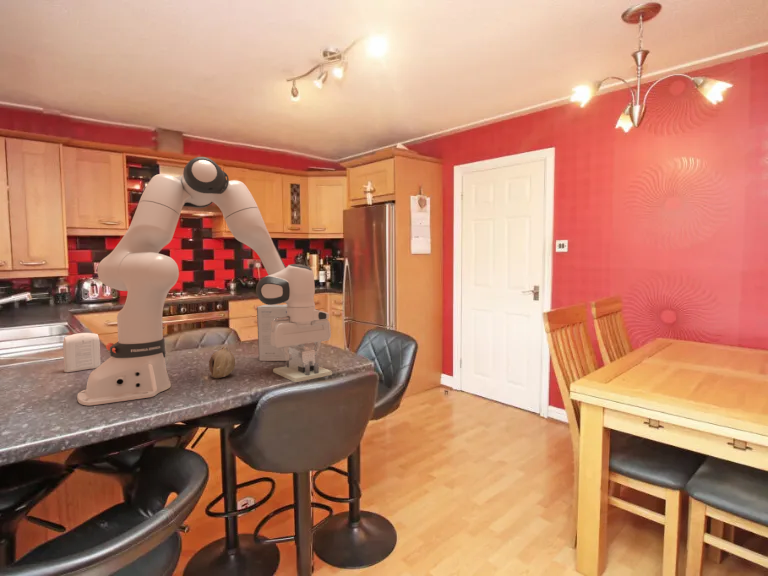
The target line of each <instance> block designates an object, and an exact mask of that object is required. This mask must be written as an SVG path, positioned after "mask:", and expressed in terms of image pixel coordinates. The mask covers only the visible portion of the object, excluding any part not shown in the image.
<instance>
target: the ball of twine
mask: <svg viewBox="0 0 768 576" xmlns="http://www.w3.org/2000/svg"><path fill="white" fill-rule="evenodd" d="M235 367H236V358H235V356H234V354H233V353H232V351H231V350H230V348H229V347H228V346H223V347H222V348H221V349H220V350H216V351H214V353H213V354H211V356H210V359H209V361H208V368H209V369H208V370H209V372H210V377H211V378H214V379H221V378H225V377H228V376H230V374H231V373H232V372H233V371H234V369H235Z"/></svg>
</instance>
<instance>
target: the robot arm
mask: <svg viewBox="0 0 768 576" xmlns="http://www.w3.org/2000/svg"><path fill="white" fill-rule="evenodd" d="M182 172H183V173H182V174H181V175H179V176H173V175H171V174H168V173H159V174H156V175H153V176H152V178H151V179H150V180H149V181H148V183H147V185H146V187H145V189H144V191H143V192H142V195H141V196H140V199H139V201H138V204H137V206H136V209H135V213H134V214H133V217H132V220H131V222H130V225H129V227H128V229H127V230H126V232H125V233H124V235H123V236H122V238H121V239H120V241H119V242H118V243H117V245H116V246H115V248H114V249H113V250H112V251H111V252H110V253H109V254H107V256H105V257H103V259H102V260H100V262H99V263H98V266H97V271H96V272H97V277H98V279H99V281H100V282H101V283H102V284H103V285H105V287H108V288H110V289H113V290H116V291H122V292H127V295H126V300H125V302H124V305H123V307H122V308H121V309H120V310H119V311H118V313H117V315H116V320H117V342H115V343H112V342H108V343H107V344H106V345H105V348H106V350H107V351H109V355H110V357H109V358H107V359H106V360H105V361H104V362H102V363H101V365H100V366H99V367H97V368H94V369H93V370H92V371H91V372H90V373H89V375H88V378H87V382H86V389H83V390H81V391H79V392H78V393H77V395H76V396H77V398H76V399H77V402H78V403H79V404H80V405H82V406H83V405H84V406H97V405H103V404H111V403H118V402H124V401H133V400H139V399H145V398H153V397H155V396H156V395H158V394H159V393H161V392H163V391H167V390H168V389H169V388H171V386H172V383H171V381H170V378H169V375H168V372H167V366H166V359H165V358H166V350H167V349H166V341H165V338H164V336H163V334H164V333H163V332H164V330H163V313H164V306H165V302H166V299H167V296H168V294H169V292H170V290H171V289H172V288H173V287H175V285H176V284H177V282H178V279H179V277H180V270H179V266H178V263H177V262H176V261H175V259H173V258H172V257H171V256H168V255H165V254H162V253H160V252H161V251H162V249H164V248H165V247H167V246H168V245H169V244H170V243H171V241H173V240H172V239H173V237H174V234H175V231H176V229H177V226H178V223H179V219H180V216H181V212H182V210H183V207H191V208H194V209H203V208H207V207H209V206H210V205H212V204H213V203H214V205H216V206H217V207H218V208H219V210H220V211H221V213H222V216H223V218H224V221H225V223H226V225H227V228H228V230H229V231H230V233H231V234H232V236H233V238H234V239H235V240H237V241H238V242H240V243H242V244H243V245H246V246H247V247H249V248H250V249H252V250H253V251H254V252H255V253H256V254H257V256H258V257H259V259H260V261H261V263H262V265H263V267H264V269H265V271H266V273H267V274H268V275H266V276H264V277H262V278H260V279H259V280H258V282H257V284H256V287H255V292H256V296H257V298H258V300H259V301H260V302H262V304H263V305H282V304H285V305H287V317H281V318H279V317H277V318H275V319H274V320H273V321H272V322H271V339H270V343H271V345H272V346H273V347H275V348H281V347H282V351H283V352H284V354H285V359H286V360H287V361H288V360H292V354H289V353H288V351H287V350H289V346H295V345H301V344H304V345H306V344H307V345H308V344H312V343H313V344H314V345H315V346H314V348H313V349H314V350H315V357H316V356H318V355H319V350H320V348H321V346H322V342H327V341H329V340H330V339H331V337H332V328H331V322H330V321H329V320H328V319H329V318H330V313H329V312H326V311H323V310H320V309H316V303H315V293H316V288H315V276H314V271H313V269H312V268H311V267H310V266H308V265H303V264H298V263H297V264H296V263H292V264H288V265H287V266H286V265H285V262H284V261H283V259H282V257H281V255H280V252H279V250H278V249H277V247H276V244H275V243H274V241H273V239H272V237H271V235H270V232H269V230H268V228H267V225H266V222H265V221H264V218H263V215H262V213H261V211H260V208H259V206H258V203H257V202H256V200H255V198H254V196H253V194H252V192H250V190H249V188H248V187H247V185H246V184H245V183H244V182H243V181H240V180H237V179H232V180H230V179H229V175H228V174H227V173H226V172H225V171H224V170H222V168H221V167H220V166H219V164H217V162H215V161H214V160H212V159H211V158H209V157H205V156H197V157H194V158H192V159H190V160H189V161H188V162H187V163H186V165H185V166H184V168H183V171H182ZM282 320H283V321H282ZM287 361H286V362H287Z"/></svg>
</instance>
